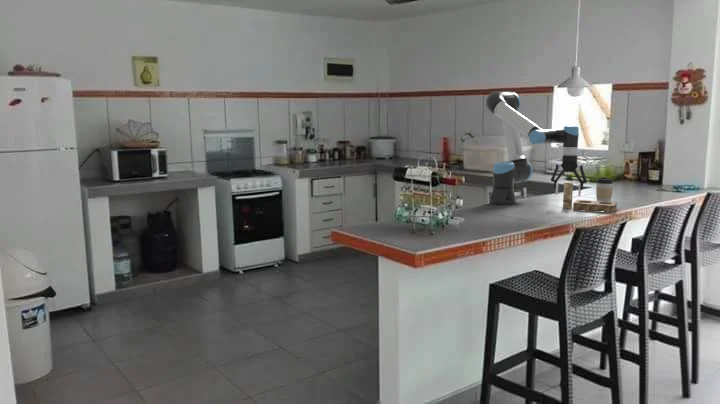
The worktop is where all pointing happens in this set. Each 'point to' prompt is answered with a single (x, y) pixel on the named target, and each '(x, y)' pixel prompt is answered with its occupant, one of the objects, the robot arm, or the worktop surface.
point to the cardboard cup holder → (594, 205)
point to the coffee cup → (604, 189)
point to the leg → (567, 195)
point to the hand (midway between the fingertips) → (567, 195)
